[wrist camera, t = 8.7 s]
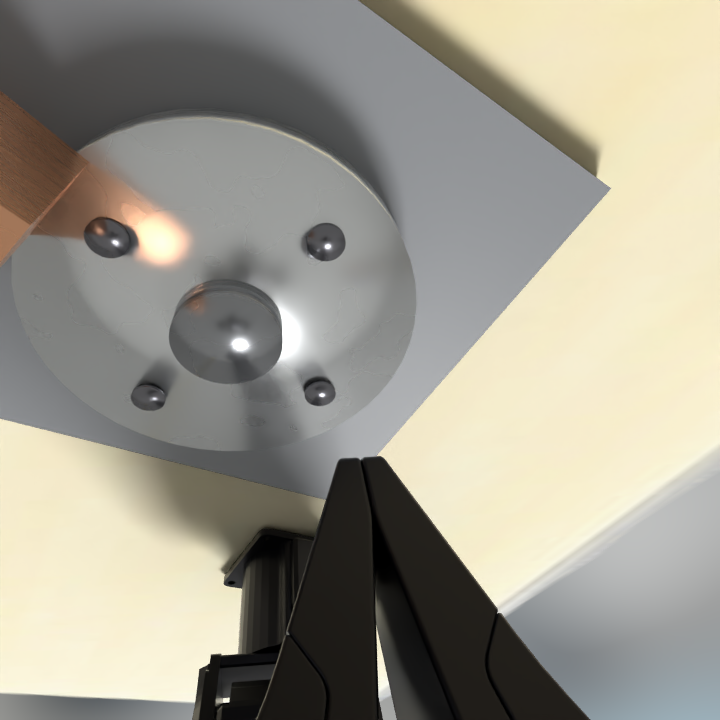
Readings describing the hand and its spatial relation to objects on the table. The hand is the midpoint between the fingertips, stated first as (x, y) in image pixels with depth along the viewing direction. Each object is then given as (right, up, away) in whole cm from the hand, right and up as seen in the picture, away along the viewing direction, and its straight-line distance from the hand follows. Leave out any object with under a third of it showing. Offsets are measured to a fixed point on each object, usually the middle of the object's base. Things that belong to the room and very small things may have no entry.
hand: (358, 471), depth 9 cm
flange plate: (-6, +5, +7) cm, 11 cm away
